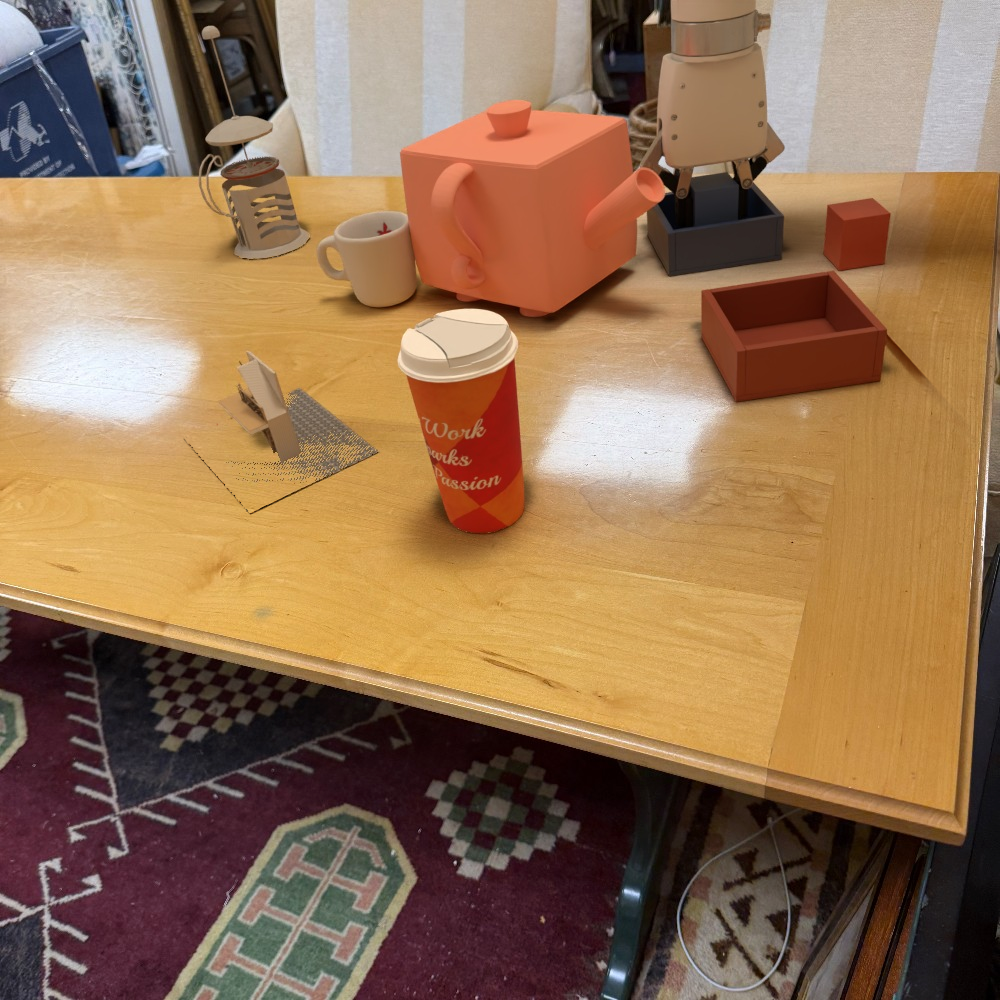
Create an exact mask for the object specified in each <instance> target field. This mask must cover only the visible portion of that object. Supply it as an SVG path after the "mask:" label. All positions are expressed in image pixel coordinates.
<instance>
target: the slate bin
mask: <svg viewBox="0 0 1000 1000" xmlns="http://www.w3.org/2000/svg"><path fill="white" fill-rule="evenodd" d="M784 224H785V215H784V214H783V213H782V212H781V211H780V210H779V208H778V207H776V205H775V204H774V203H773V202H772V201H771V200H770V199H769V197H767V195H766V194H765V193H764V192H763V191H762V189H760V188H759V187H758V185H757V184H756V183H755V182H754V181H753V185H752V187H750V188H749V189H748V213H747V216H746V217H743V219H742V220H736V221H729V222H723V223H716V224H710V225H703V226H696V227H690V228H683V229H681V226H679V227H678V226H677V225H676V221H675V194H674V193H673V192H671V191H668V192H665V196H664V198H663V200H661V201H660V202H659V203H658V204H656V205H655V206H653V207H652V208H651V209H649V210H648V211H647V212H646V229H647V231H646V232H647V238H648V240H649V241H650V243H651V245H652V247H653V249H654V250H655V253H656V255H657V256H658V258H659V260H660V262H661V264H662V265H663V267H664V269H665V271H666V273H667V275H668V277H673V276H680V275H687V274H694V273H699V272H707V271H714V270H719V269H727V268H734V267H740V266H746V265H753V264H759V263H765V262H774V261H779V260H782V259H783V244H784V243H783V242H784V226H785V225H784Z"/></svg>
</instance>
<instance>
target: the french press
mask: <svg viewBox="0 0 1000 1000" xmlns="http://www.w3.org/2000/svg"><path fill="white" fill-rule="evenodd" d="M201 37H202V39H203V40H210V41H211V43H212V47H213V50H214V54H215V57H216V61H217V64H218V67H219V71H220V74H221V78H222V81H223V84H224V88H225V92H226V95H227V97H228V98H227V99H228V102H229V104H230V108H231V111H232V115H233V116H232V117H230V118H228V119H224V120H223V121H222V122H220V123H219V124H217V125H216V126H214V127H213V128H212V129H211V130H210V131H209V132H208V134H207V135H206V137H205V142H206V143H207V144H208V145H210V146H213V147H226V146H234V145H239V144H241V145H242V148H243V152H244V156H245V158H244V159H241V160H238V161H234V162H232V163H230V164H228V165H226V166H224V162H223V158H222V157H221V155H219V154H218V155H214V154H212V153H209V154H207V155H206V157H205V158H204V159H203V160H202V161H201V164H200V167H199V170H198V187H199V190H200V193H201V196H202V198H203V200H204V202H205V204H206V205H207V206H208V208H210V210H211V211H212V212H214V213H216V214H218V215H220V216H225V217H227V218H231V219H230V220H231V222H232V225H233V228H234V231H235V234H236V237H237V240H238V242H237V244H236V246H235V247H234V254H237V255H238V256H240V257H244V258H251V259H253V258H266V257H271V256H276V255H280V254H283V253H286V252H289V251H292V250H294V249H296V248H298V247H300V246H301V245H303V244H305V242H306V241H307V240H308V239H309V231H307V230H305V229H303V228H301V227H300V223H299V220H298V216H297V212H296V208H295V205H294V201H293V197H292V194H291V191H290V186H289V184H288V180H287V176H286V172H285V171H284V170H283V169H281V168H278V167H279V166H280V159H278V158H277V157H273V156H254V158H253V157H251V158H250V157H248V154H247V151H246V147H245V143H249V142H252V141H255V140H258V139H260V138H263V137H265V136H267V135H269V134H270V133H272V132H273V130H274V123H273V122H271V121H267V120H265V119H263V118H261V117H260V118H259V117H257V116H252V115H243V116H241V115H240V116H239V115H236V112H235V110H234V106H233V104H232V100H231V99H232V98H231V96H230V92H229V89H228V86H227V82H226V80H225V79H226V78H225V76H224V71H223V69H222V65H221V61H220V59H219V54H218V52H217V48H216V45H215V42H214V39H216V38H220V37H221V33H220V30H219V29H218V28H217V27H216V26H215V25H208V26H205V27H204V28H203V29H202V30H201ZM210 157H211V161H210V162H209V164H208V167H207V171H206V175H205V178H206V180H205V181H206V182H205V183H206V190H207V193H208V196H209V199H210V202H211V203H212V205H213V206H214V207H213V206H212V205H211V203H210V202H209V201H208V200H207V197H206V194H205V191H204V189H203V186H202V173H203V168H204V165H205V162H207V160H208V159H209V158H210ZM217 159H219V162H220V164H218V163H217V161H216V160H217ZM213 164H214V165H215V166H216V167H219V168H222V167H223V168H222V169H221V170H220V176H221V177H222V178H224V179H226V180H225V181H223V182H222V184H221V188H222V189H221V190H222V192H223V195H224V198H225V202H226V205H227V208H228V211H229V213H226V212H224V211H222V209H220V208H219V206H218V205H217V204H216V202H215V201H214V199H213V196H212V192H211V189H210V182H209V181H210V179H209V174H210V171H211V168H212V165H213ZM236 186H243V187H248V189H238V190H233V189H232V188H233V187H236ZM249 188H250V189H249ZM228 192H229V193H228ZM228 194H229V196H228ZM272 197H274V198H273V199H272ZM269 198H271V199H269ZM257 199H266V200H265V201H262V202H261V201H259V202H258V201H256V200H257ZM231 204H233V206H232V205H231ZM275 207H277V209H272V208H275ZM214 208H215V209H214ZM263 209H271V210H268V211H261V210H263ZM235 214H236V215H235ZM277 217H280V219H275V220H272V221H265V220H267V219H269V218H270V219H271V218H273V219H274V218H277ZM238 224H239V226H238ZM305 245H306V244H305ZM300 248H301V247H300ZM292 252H293V251H292Z"/></svg>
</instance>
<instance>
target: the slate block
mask: <svg viewBox="0 0 1000 1000" xmlns="http://www.w3.org/2000/svg"><path fill="white" fill-rule="evenodd" d="M689 190H690V195H691V197H692V198H693V227H696V226H703V225H710V224H716V223H723V222H729V221H736V220H738V196H739V185H738V184H737V183H736V182H735V180H734V179H733V176H731V175H730V174H729V172H728V171H724V172H717V173H710V174H704V175H698V176H697V175H696V176H692V178H691V183H690V187H689Z"/></svg>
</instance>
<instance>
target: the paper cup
mask: <svg viewBox="0 0 1000 1000" xmlns="http://www.w3.org/2000/svg"><path fill="white" fill-rule="evenodd" d="M518 349H519V340H518V337H517V336H516V334H515V333H514V332H513V331H512V330H511V328H510V325H509V323H508V321H507V320H506V319H505V318H504V317H503V316H502V315H500V314H499V313H497V312H494V311H491V310H488V309H481V308H459V309H452V310H447V311H442V312H441V311H440V312H438V313H434V315H433V318H431V317H428V318H426V319H423V320H422V321H421V322H418V323H416V324H415V325H414V328H411V327H409V328H407V329H406V331H404V334H403V335H402V337H401V340H400V350H399V352H398V356H397V365H398V368H399V369H400V371H401V372H402V373H403V374H404V375H406V380H407V383H408V387H409V390H410V393H411V397H412V401H413V403H414V407H415V410H416V414H417V418H418V421H419V425H420V429H421V432H422V435H423V439H424V442H425V446H426V449H427V453H428V456H429V459H430V464H431V467H432V470H433V473H434V477H435V480H436V484H437V488H438V491H439V494H440V497H441V501H442V503H443V507H444V510H445V513H446V516H447V518H448V521H449V522H450V524H451V523H452V524H453V525H454V526H455V527H454V526H453V525H452V524H451V525H452V526H453V527H454V528H456V527H457V528H459V529H461V530H463V531H462V532H464V531H467V532H472V533H486V534H489V533H488V532H493V533H495V532H494V531H496V532H498V531H497V530H499V529H502V530H504V529H503V528H505V529H506V527H507V526H509V527H510V526H512V525H514V524H515V523H516V522H517V521H518V520H519V519H520V518H521V517H522V515H523V513H524V511H525V510H524V509H525V484H524V483H525V481H524V468H523V454H522V453H523V452H522V440H521V428H520V427H521V426H520V425H521V424H520V413H519V412H520V411H519V400H518V386H517V385H518V384H517V374H516V373H517V371H516V359H515V358H516V357H515V356H516V354H517V352H518ZM457 528H456V529H457ZM507 528H508V527H507ZM459 529H458V530H459ZM461 530H460V531H461ZM467 532H466V533H467ZM472 533H471V534H472Z"/></svg>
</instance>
